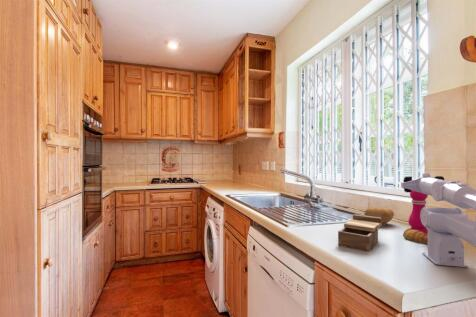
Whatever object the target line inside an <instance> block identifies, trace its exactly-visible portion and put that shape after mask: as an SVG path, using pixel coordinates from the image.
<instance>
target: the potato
mask: <svg viewBox="0 0 476 317" xmlns="http://www.w3.org/2000/svg"><path fill="white" fill-rule="evenodd" d="M363 213H364V216H372V217H380V218H382V225H381V226H384V225H386V224H388V223H389V222H390V221H391V220H393V218H394V216H395V214H394V211H393V210H392V209H391V208H389V207H381V206H380V207H379V206H378V207H377V206H376V207H367V208H366V209H365V210H364V212H363Z"/></svg>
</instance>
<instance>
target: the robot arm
mask: <svg viewBox="0 0 476 317" xmlns="http://www.w3.org/2000/svg"><path fill="white" fill-rule="evenodd" d="M400 188H401V189H403V191H404V192H405V193H410V192H412V190H414V191H417V192H420V193H423V194H428V195H429V196H431V197H432V198H433V200H434V201H435V202H440V201H441V202H443V201H444V202H447V203H449V204H451V205H454V206H456V207H454V208H452V207H450V208H449V207H428V206H425V207H423V209H422V210H421V213H420V218H421V222H422V224H423V225H424V226H425V227H426V228H427V230H428V244H427V251H422V254H423V255H424V256H425V258H427V259H429V261H430V262H432V263H433V264H434V265H438V266H448V267H449V266H451V267H463V268H468V267H469V265H468V264H466V263H465V244H464V242H463V241H465V242H467V243H468V244H470V245H471V246H473V247H475V248H476V214H474V215H475V216H474V220H471V219H470V218H469V215H468V214H467V213H465V212H464V211H463V209H465V210H466V209H468V210H469V209H472V210H474V211H476V189H475V188H473V187H471V186H468V184H467V183H463V182H461V181H460V180H455V181H454V180H445V177H444V176H442V175H441V176H440V175H439V176H438V175H436V176H433V177H432V176H431V174H430V173H429V172H428V173H422V176H421V177H417V178H415V179H413V176H404V177H403V180H402V181H400Z"/></svg>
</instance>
